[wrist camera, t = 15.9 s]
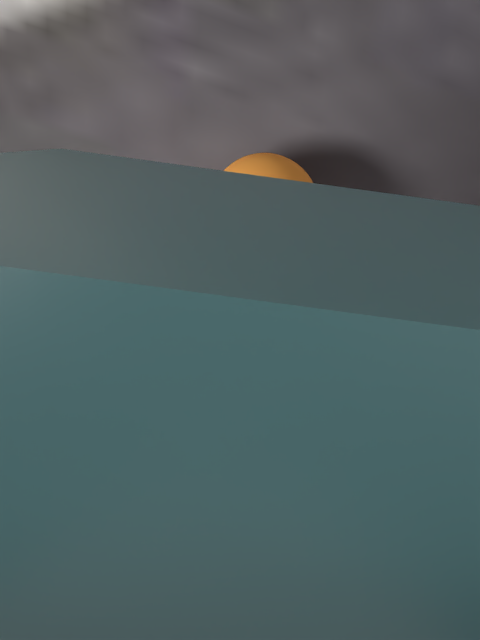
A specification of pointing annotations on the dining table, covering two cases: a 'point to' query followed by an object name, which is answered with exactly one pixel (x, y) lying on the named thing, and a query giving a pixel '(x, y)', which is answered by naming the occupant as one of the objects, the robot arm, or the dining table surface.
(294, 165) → the ball
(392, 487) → the teal cube
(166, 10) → the dining table surface
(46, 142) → the dining table surface
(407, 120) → the dining table surface
